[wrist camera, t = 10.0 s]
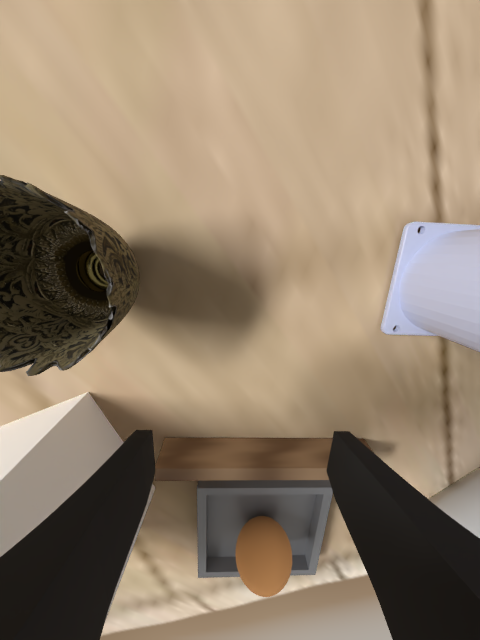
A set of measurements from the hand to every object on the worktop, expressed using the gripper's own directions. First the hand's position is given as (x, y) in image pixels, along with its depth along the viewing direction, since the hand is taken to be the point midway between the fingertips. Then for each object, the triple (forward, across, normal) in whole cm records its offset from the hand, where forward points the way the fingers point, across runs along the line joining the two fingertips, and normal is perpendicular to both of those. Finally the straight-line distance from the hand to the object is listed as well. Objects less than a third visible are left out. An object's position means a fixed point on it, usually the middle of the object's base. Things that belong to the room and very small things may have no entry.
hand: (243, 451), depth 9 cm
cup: (+10, +9, -6) cm, 14 cm away
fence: (+9, -3, +9) cm, 13 cm away
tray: (+9, -3, +18) cm, 21 cm away
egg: (+6, -3, +18) cm, 19 cm away
